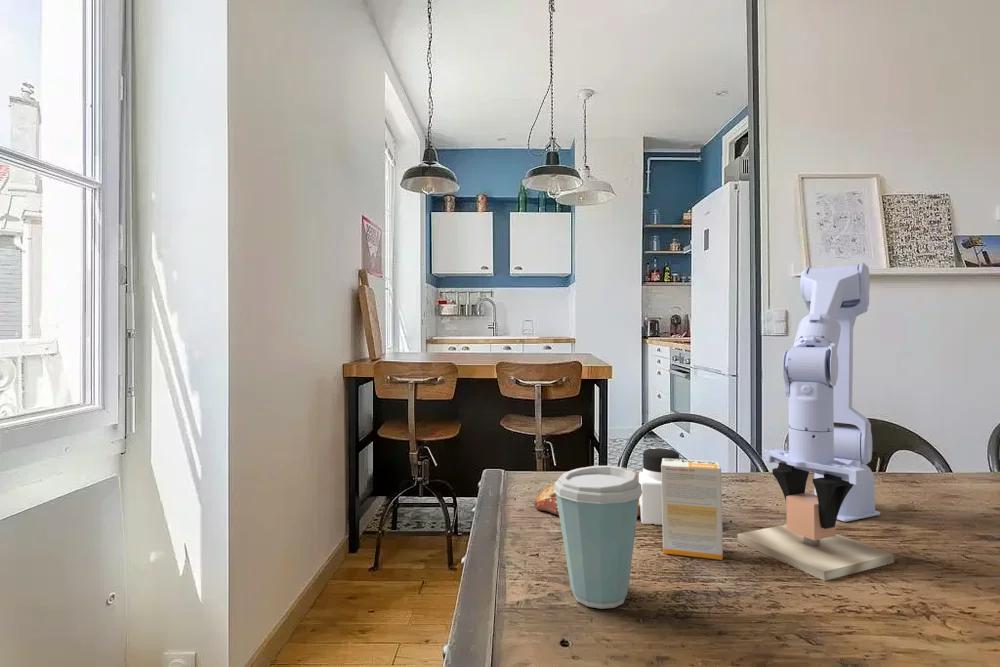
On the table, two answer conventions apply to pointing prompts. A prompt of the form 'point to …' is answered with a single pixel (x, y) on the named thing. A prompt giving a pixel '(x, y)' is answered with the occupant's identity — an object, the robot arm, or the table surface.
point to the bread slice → (553, 501)
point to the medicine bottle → (653, 484)
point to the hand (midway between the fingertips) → (811, 521)
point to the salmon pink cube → (806, 517)
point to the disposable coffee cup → (598, 531)
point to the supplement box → (692, 508)
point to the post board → (816, 552)
